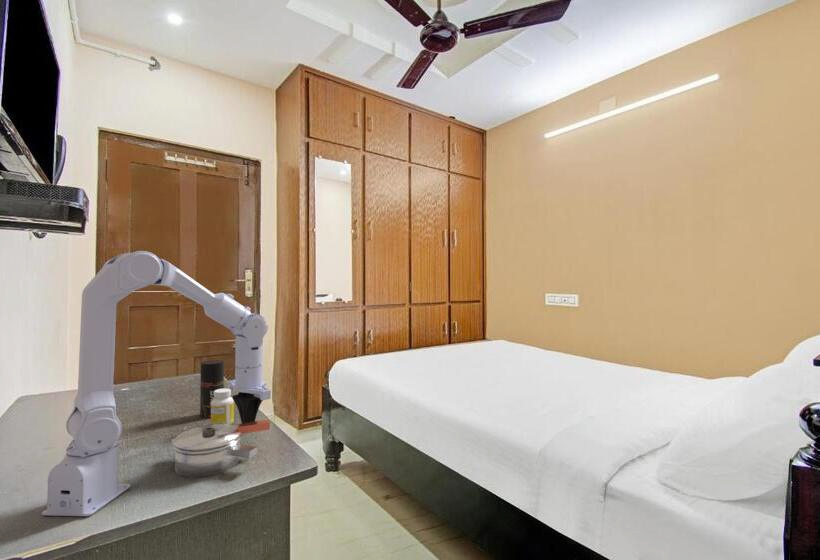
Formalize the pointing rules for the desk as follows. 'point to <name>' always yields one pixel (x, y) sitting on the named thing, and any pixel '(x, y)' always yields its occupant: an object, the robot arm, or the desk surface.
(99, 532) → the desk surface
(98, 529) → the desk surface
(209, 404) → the deodorant
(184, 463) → the pot
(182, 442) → the lid
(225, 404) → the supplement bottle
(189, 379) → the desk surface
